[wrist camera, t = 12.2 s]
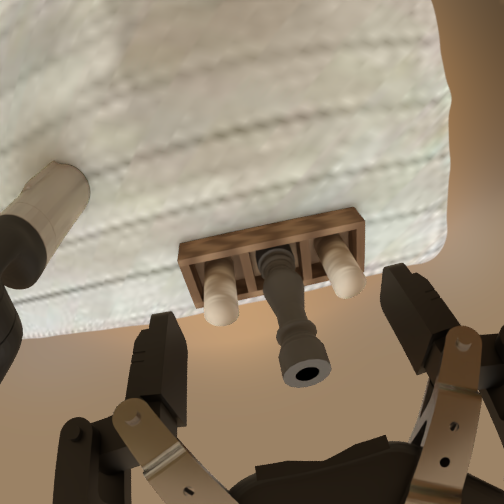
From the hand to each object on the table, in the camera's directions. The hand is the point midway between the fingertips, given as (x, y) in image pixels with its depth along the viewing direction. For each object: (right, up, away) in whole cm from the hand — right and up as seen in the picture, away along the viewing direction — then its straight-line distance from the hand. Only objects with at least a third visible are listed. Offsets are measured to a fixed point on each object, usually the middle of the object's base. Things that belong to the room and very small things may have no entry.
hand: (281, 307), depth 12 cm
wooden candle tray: (+3, +2, +45) cm, 45 cm away
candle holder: (+3, +2, +44) cm, 44 cm away
